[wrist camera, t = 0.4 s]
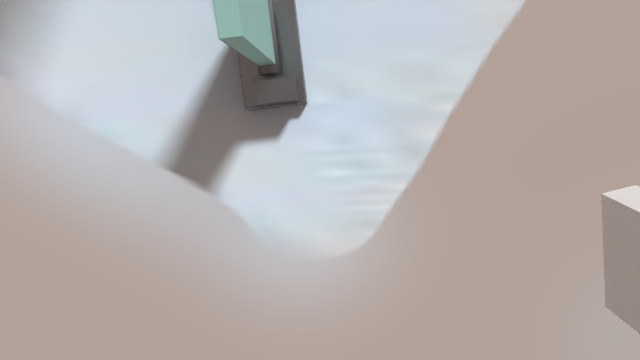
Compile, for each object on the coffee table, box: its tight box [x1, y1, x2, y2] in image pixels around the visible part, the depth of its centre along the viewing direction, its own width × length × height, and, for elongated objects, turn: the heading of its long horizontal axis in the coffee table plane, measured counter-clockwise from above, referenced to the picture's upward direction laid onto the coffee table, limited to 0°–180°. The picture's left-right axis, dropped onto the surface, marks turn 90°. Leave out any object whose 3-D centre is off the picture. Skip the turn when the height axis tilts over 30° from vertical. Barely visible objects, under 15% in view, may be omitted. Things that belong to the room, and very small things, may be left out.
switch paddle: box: [213, 0, 281, 76], centre depth 27 cm, size 6×1×12 cm, turn 7°
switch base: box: [238, 0, 307, 110], centre depth 32 cm, size 10×4×3 cm, turn 7°
